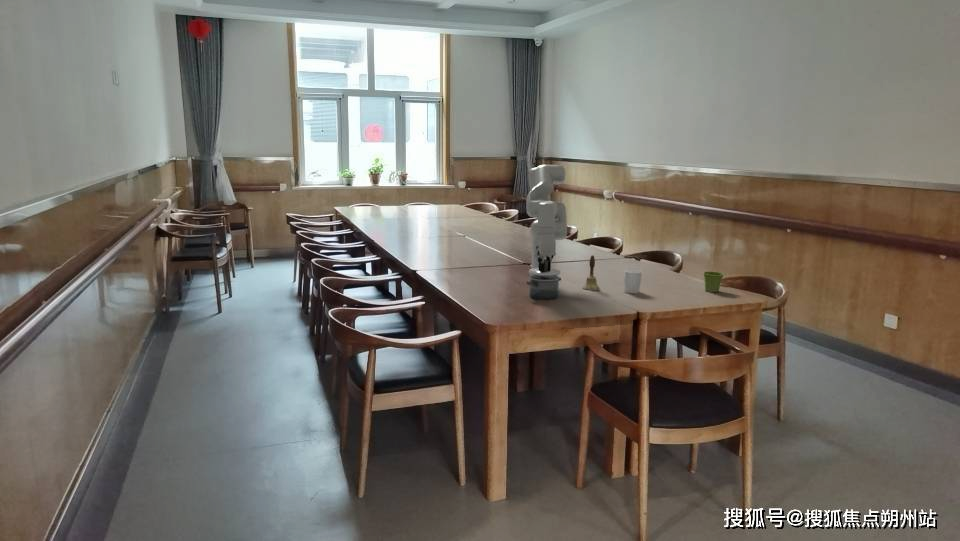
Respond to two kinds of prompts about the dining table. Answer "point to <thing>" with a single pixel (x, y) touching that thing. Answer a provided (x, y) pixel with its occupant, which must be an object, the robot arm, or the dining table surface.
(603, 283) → the dining table surface
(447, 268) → the dining table surface
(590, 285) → the hand bell
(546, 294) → the pot
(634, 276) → the white cup
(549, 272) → the lid
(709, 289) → the plant pot
